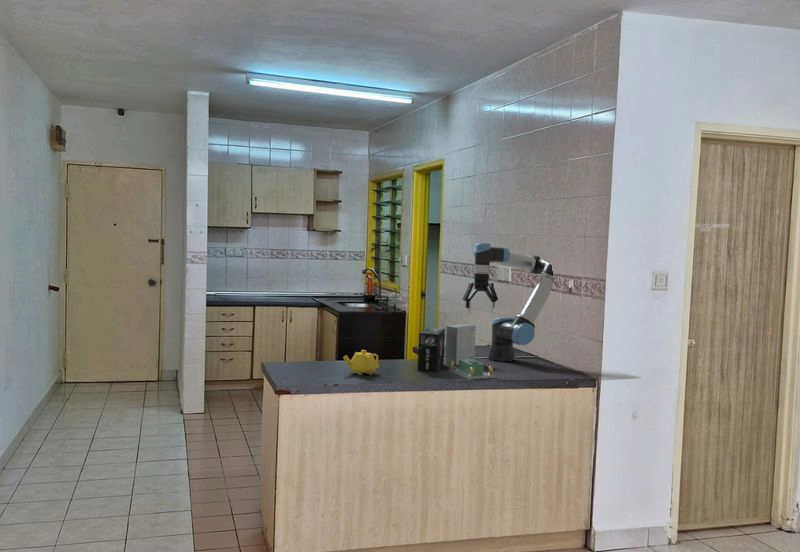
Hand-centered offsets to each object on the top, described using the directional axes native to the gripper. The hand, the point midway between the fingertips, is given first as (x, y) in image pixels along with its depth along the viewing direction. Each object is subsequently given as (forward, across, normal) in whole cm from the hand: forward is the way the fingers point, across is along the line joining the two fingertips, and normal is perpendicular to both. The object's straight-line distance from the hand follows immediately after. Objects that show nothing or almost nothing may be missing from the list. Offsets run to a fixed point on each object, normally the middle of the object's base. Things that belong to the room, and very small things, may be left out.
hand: (479, 314), depth 375 cm
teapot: (+27, +68, +4) cm, 73 cm away
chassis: (+27, +17, +20) cm, 37 cm away
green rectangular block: (+26, +17, +20) cm, 37 cm away
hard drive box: (+27, +5, -9) cm, 29 cm away
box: (+27, +27, -1) cm, 38 cm away
